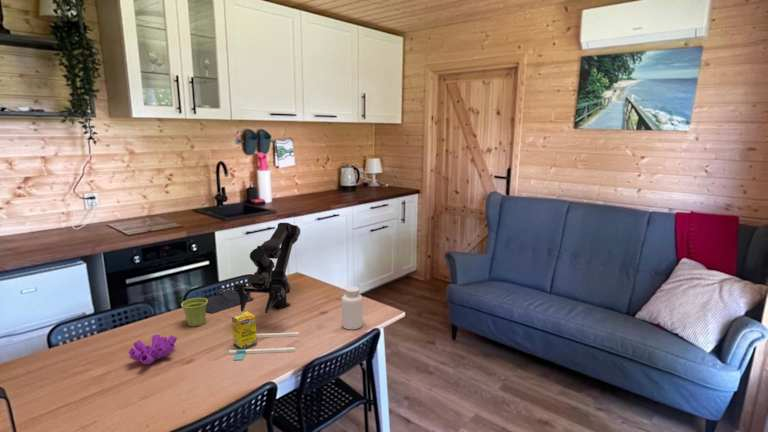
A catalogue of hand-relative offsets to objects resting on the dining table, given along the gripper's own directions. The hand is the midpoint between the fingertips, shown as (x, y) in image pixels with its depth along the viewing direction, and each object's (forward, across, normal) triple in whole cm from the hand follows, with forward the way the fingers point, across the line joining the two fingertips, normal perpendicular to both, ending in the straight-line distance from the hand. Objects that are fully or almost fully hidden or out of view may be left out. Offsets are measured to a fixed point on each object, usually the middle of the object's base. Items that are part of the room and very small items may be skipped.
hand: (253, 312), depth 155 cm
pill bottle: (-2, +34, +14) cm, 37 cm away
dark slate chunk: (-12, -25, +25) cm, 37 cm away
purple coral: (+20, -26, -8) cm, 34 cm away
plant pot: (+2, -26, +10) cm, 28 cm away
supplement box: (+12, 0, 0) cm, 12 cm away
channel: (+11, +7, +1) cm, 13 cm away
